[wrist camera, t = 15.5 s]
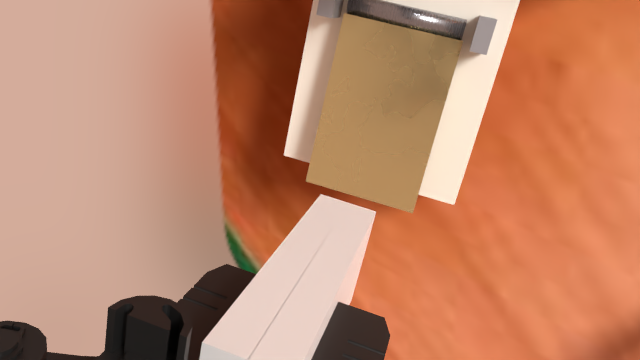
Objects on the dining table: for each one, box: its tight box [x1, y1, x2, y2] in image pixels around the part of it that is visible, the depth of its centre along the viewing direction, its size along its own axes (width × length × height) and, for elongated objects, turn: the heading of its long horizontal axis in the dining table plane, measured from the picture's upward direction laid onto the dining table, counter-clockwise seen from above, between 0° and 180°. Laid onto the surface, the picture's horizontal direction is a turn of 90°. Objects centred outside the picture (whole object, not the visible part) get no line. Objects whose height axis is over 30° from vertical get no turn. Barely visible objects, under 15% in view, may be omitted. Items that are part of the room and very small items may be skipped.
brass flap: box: [306, 0, 467, 213], centre depth 28 cm, size 10×6×1 cm, turn 168°
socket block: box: [284, 0, 520, 205], centre depth 29 cm, size 18×10×7 cm, turn 168°
